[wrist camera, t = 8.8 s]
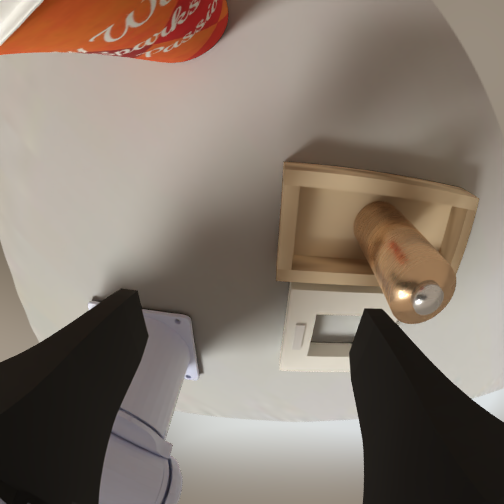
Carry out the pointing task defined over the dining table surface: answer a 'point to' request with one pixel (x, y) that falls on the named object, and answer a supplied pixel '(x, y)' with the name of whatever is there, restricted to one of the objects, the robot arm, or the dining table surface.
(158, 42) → the paper cup
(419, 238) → the battery cell
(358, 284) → the wooden trough
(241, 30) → the dining table surface
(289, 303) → the white square frame
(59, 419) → the robot arm
